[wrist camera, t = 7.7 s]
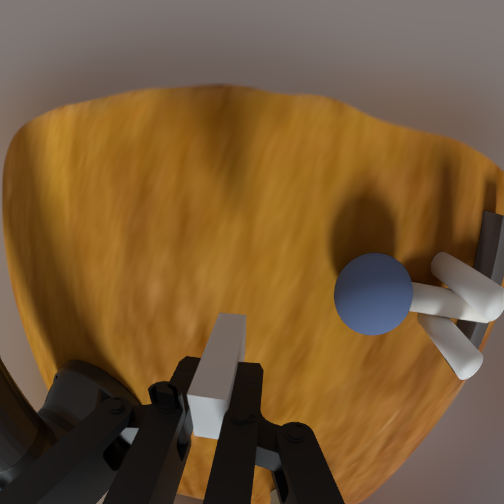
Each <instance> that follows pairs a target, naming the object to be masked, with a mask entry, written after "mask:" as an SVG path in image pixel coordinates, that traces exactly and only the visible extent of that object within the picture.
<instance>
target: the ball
mask: <svg viewBox="0 0 504 504" xmlns="http://www.w3.org/2000/svg"><path fill="white" fill-rule="evenodd" d="M412 299H413V286H412V282H411V278H410V276H409V274H408V272H407V270H406V269H405V267H404V266H403V265H402V264H401V263H400V262H399V261H397V260H396V259H395V258H393V257H391V256H389V255H386V254H382V253H368V254H364V255H361V256H359V257H356V258H355V259H353V260H352V261H350V262H349V263H348V264H347V265H346V266H345V267H344V268H343V270H342V271H341V273H340V274H339V276H338V279H337V281H336V284H335V290H334V302H335V306H336V309H337V312H338V314H339V316H340V318H341V319H342V320H343V322H344V323H345V324H346V325H347V326H348V327H349V328H351V329H352V330H354V331H356V332H358V333H361V334H365V335H379V334H383V333H386V332H389V331H390V330H392V329H394V328H395V327H397V326H398V325H399V324H400V323H401V322H402V321H403V320H404V318H405V317H406V315H407V314H408V312H409V310H410V307H411V304H412Z"/></svg>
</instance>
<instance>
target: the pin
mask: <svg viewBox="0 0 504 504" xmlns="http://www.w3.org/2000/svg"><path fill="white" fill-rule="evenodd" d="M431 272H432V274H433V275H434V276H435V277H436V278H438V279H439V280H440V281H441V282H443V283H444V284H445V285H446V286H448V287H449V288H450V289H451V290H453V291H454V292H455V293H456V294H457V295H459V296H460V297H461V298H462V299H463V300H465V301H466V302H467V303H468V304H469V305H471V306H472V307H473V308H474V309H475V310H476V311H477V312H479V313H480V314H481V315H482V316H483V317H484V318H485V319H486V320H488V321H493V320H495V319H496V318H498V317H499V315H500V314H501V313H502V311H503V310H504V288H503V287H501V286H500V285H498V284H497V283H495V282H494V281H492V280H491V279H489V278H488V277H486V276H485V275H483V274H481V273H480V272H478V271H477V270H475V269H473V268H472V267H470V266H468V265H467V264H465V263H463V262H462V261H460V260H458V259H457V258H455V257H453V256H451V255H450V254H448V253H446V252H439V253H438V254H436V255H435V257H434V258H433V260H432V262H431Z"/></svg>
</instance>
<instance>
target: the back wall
mask: <svg viewBox="0 0 504 504" xmlns="http://www.w3.org/2000/svg"><path fill="white" fill-rule="evenodd" d="M473 269H475V270H477V271H478V272H480V273H481V274H483V275H485V276H486V277H488V278H489V279H491V280H492V281H494V282H495V283H497V284H498V285H500V286H501V284H502V281H503V277H504V216H503V215H500V214H496V213H492V212H488V211H484V212H483V220H482V227H481V233H480V239H479V245H478V250H477V255H476V260H475V264H474V268H473ZM488 324H489V322H488V323H482V322H475V321H468V320H462V319H459V320H458V323H457V327H458V329H459V330H460V331H461V332H462V333H463V334H464V335H465V336H466V337H467V338H468V339H469V341H470V342H471V343H472V344H473V345H474V346H475V347H476V348H477V350H478V349H479V346H480V344H481V342H482V339H483V337H484V334H485V332H486V329H487V327H488ZM444 358H445V357H444ZM445 360H446V358H445ZM446 361H447V360H446ZM447 363H448V361H447ZM448 364H449V363H448ZM449 365H450V364H449ZM450 367H451V366H450ZM451 368H452V367H451ZM452 370H453V368H452ZM453 371H454V370H453ZM454 373H455V371H454Z"/></svg>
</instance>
